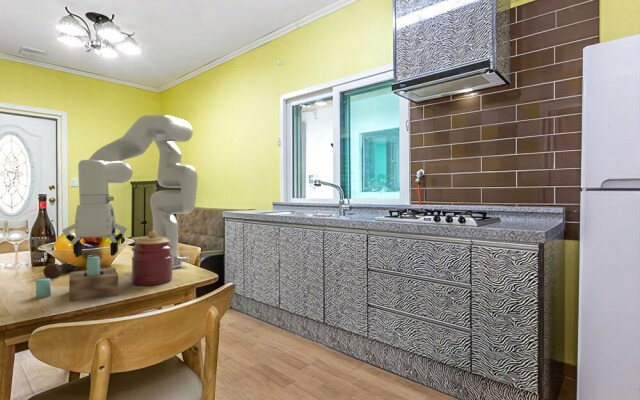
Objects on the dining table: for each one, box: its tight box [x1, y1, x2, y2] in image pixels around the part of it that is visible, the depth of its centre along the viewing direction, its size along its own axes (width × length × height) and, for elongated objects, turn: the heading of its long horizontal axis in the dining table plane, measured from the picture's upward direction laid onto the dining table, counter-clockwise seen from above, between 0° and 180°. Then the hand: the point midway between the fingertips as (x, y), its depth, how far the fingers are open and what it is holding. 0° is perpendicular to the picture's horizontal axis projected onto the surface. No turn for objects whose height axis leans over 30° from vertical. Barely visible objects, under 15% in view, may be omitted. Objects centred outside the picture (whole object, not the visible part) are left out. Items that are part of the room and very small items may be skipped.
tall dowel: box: [86, 256, 101, 276], centre depth 107 cm, size 3×3×11 cm
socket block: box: [68, 267, 119, 303], centre depth 107 cm, size 12×12×6 cm
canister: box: [130, 230, 173, 286], centre depth 122 cm, size 13×13×18 cm
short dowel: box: [35, 277, 52, 299], centre depth 103 cm, size 3×3×5 cm
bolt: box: [43, 262, 80, 279], centre depth 131 cm, size 6×5×15 cm
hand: (96, 255), depth 108 cm, fingers open, 9 cm apart
